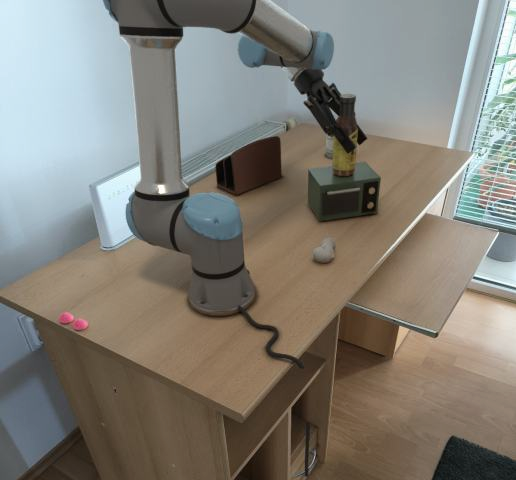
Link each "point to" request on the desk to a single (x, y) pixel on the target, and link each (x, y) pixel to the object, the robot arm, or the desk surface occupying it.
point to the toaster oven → (343, 192)
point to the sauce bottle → (347, 121)
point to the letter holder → (250, 166)
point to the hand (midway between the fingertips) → (357, 146)
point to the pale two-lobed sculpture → (325, 251)
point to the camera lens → (329, 145)
